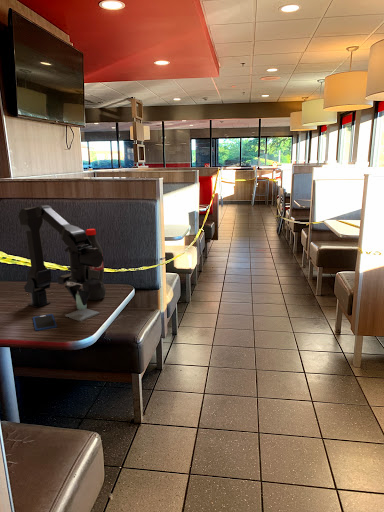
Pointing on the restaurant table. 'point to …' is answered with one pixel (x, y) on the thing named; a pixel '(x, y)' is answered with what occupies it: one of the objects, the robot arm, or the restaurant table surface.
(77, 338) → the restaurant table surface
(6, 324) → the restaurant table surface
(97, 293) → the cola bottle
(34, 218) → the robot arm
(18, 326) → the restaurant table surface
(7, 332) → the restaurant table surface
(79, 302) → the small green bottle
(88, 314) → the coaster
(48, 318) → the cell phone
